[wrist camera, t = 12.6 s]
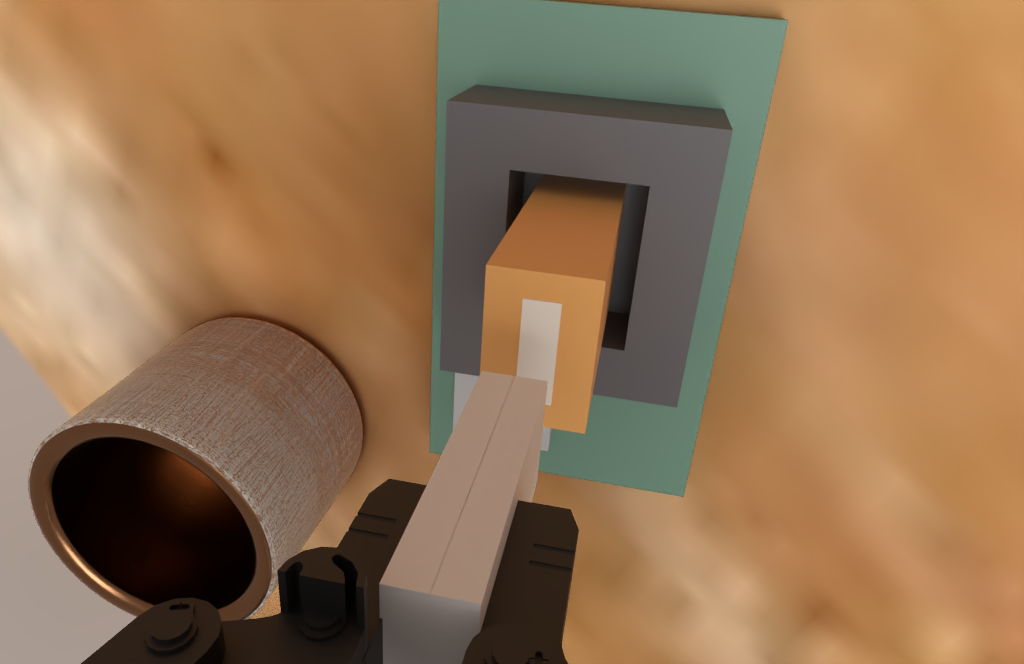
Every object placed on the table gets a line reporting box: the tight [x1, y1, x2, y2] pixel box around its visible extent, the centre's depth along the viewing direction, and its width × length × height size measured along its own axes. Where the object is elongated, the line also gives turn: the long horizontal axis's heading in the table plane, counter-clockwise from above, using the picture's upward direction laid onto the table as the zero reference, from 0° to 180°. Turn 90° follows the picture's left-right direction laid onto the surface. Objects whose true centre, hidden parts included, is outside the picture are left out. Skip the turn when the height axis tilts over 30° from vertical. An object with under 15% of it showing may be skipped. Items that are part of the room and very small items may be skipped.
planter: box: [28, 317, 363, 621], centre depth 33 cm, size 11×11×10 cm
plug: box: [480, 174, 627, 434], centre depth 23 cm, size 4×3×10 cm, turn 175°
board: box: [430, 0, 788, 497], centre depth 28 cm, size 20×12×5 cm, turn 175°
